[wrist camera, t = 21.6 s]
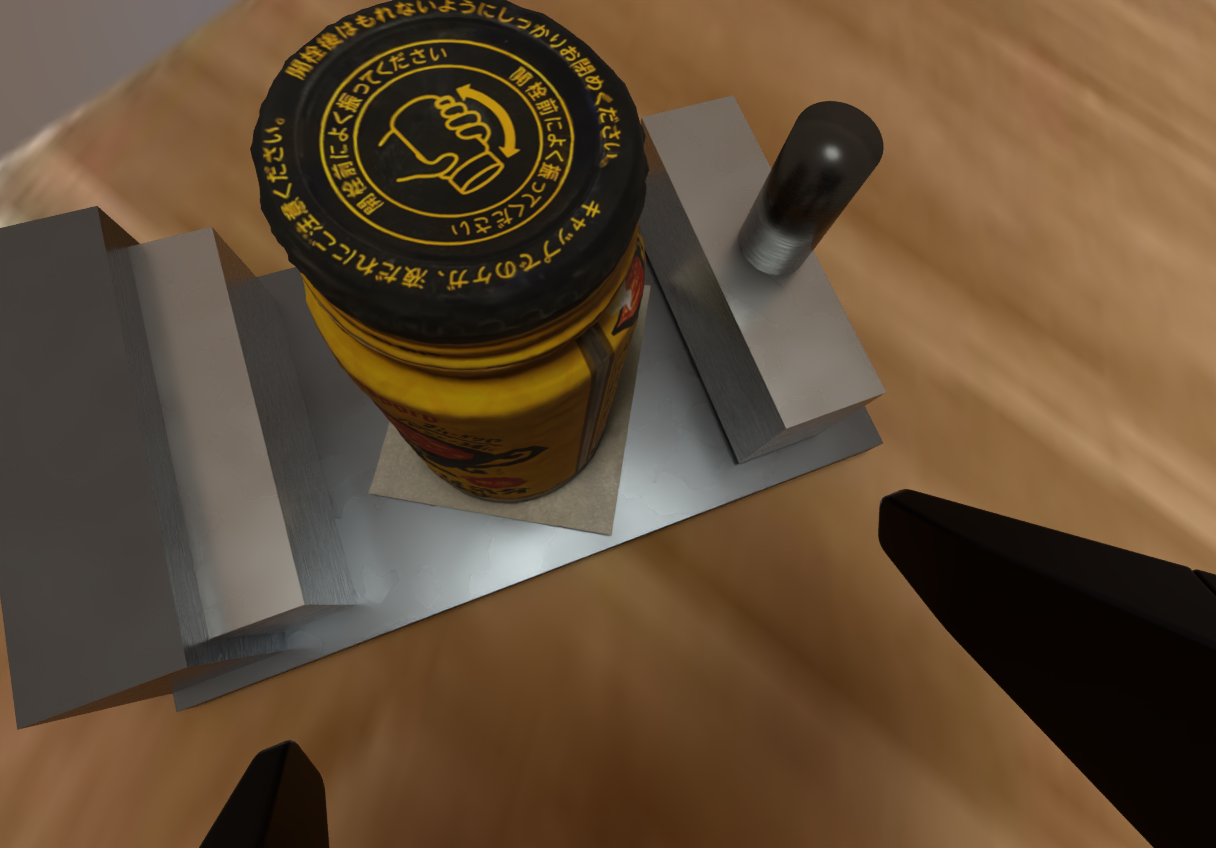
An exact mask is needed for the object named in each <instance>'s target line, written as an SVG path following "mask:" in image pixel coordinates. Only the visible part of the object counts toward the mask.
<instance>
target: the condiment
mask: <svg viewBox="0 0 1216 848" xmlns="http://www.w3.org/2000/svg"><path fill="white" fill-rule="evenodd" d="M644 143H645V131H644V128H643V126H642V125H641V124H640V121H639V117H638V114H637V109H636V106H635V104H634V102H633V100H632V98H631V96H630V93H629V91H628V89H627V87H626V85H625V83H624V82H623V81H622V80H621V79H620V78H619V77H618V76H617V75H616V74H615V72H614V71H613V70H612V69H611V68H610V67H609V66H608V65H607V64H606V63H605V62H604V61H603V60H602V59H601V58H600V57H599V56H598V55H597V54H596V53H595V52H594V51H593V50H592V49H591V48H590V47H589V46H588V45H587V44H586V43H585V42H583V41H582V40H580V39H579V38H577V37H576V36H575V35H574V34H573V33H571V32H570V31H569V30H567V29H566V28H564V27H563V26H561V25H560V24H558V23H557V22H555V21H554V20H553V19H551V18H549V17H548V16H546V15H545V14H543V13H539V12H536V11H532V10H529V9H525V8H522V7H519V6H517V5H515V4H513V3H511V2H509V1H507V0H392V1H390V2H385V3H381V4H377V5H375V6H372V7H369V8H365V9H361V10H360V11H358V12H356V13H354V14H351V15H347V16H345V17H343V18H342V19H340V20H339V21H338V22H336V23H334V24H331V25H328V26H327V27H326V28H325V29H324V30H323V31H321V32H320V33H319V34H318V35H316V36H315V37H314V38H313V39H312V40H311V41H309V42H308V43H307V44H305V45H304V46H303V47H302V48H300V49H299V50H298V51H297V52H296V53H295V54H293V55H292V56H290V57H289V58H288V59H287V60H286V61H285V63H284V66H283V68H282V70H281V71H280V72H279V74H278V75H277V77H276V78H275V79H274V81H273V83H272V86H271V87H270V89H269V92H268V95H267V97H266V99H265V100H264V101H263V103H262V105H261V108H260V116H259V119H258V122H257V124H256V127H255V129H254V133H253V142H252V145H251V148H250V150H251V155H252V158H253V162H254V165H255V168H256V173H257V177H258V181H259V186H260V203H261V210H262V212H263V213H264V215H265V217H266V219H267V221H268V223H269V225H270V227H271V232H272V233H273V235H274V236H275V237H276V239H277V241H278V243H279V244H280V245H282V246H283V247H284V248H285V250H286V252H287V254H288V259H289V262H291V263H292V264H293V265H295V266H296V267H297V269H298V270H299V271H300V273H301V276H302V278H303V282H304V286H305V293H306V302H307V305H308V307H309V309H310V312H311V315H312V317H313V320H314V322H315V324H316V326H317V329H318V331H319V332H320V334H321V336H322V338H323V339H324V340H325V342H326V343H327V345H328V346H329V349H330V351H331V352H332V354H333V355H334V357H335V358H336V360H337V362H338V364H339V366H340V367H341V368H342V369H344V370H345V372H346V373H347V374H348V376H349V377H350V378H351V379H352V381H353V382H354V383H355V384H356V385H357V386H358V387H359V388H360V389H361V391H363V392H364V393H365V394H367V395H368V396H369V397H370V398H371V400H372V401H373V402H374V404H375V405H376V406H377V407H378V408H379V409H380V410H381V411H382V413H383V414H384V415H385V416H386V418H387V419H388V420H389V425H388V429H387V433H386V436H385V440H384V443H383V446H382V449H381V453H380V458H379V461H378V465H377V468H376V471H375V475H374V478H373V481H372V484H371V487H370V489H369V492H368V493H369V494H375V495H380V496H386V497H392V498H398V499H403V500H408V501H414V502H420V503H426V504H431V505H437V506H443V507H448V508H454V509H460V510H465V511H471V512H477V513H483V514H488V515H495V516H501V517H506V518H512V519H518V520H524V521H530V522H536V523H542V524H548V525H553V526H562V527H567V528H573V529H579V530H585V531H590V532H596V533H602V534H607V535H612V530H613V523H614V517H615V510H616V504H617V497H618V491H619V484H620V477H621V471H622V464H623V458H624V451H625V445H626V439H627V433H628V427H629V420H630V414H631V408H632V402H633V395H634V389H635V383H636V377H637V370H638V363H639V357H640V350H641V344H642V339H643V331H644V325H645V319H646V313H647V307H648V300H649V294H650V287H651V286H649V285H645V275H644V274H645V266H646V258H645V245H644V241H643V238H642V236H641V232H640V229H639V218H640V216H641V213H642V211H643V208H644V205H645V197H646V189H647V186H646V182H645V181H646V177H647V175H648V172H649V166H648V162H647V158H646V154H645V153H644Z"/></svg>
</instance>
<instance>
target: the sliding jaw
mask: <svg viewBox="0 0 1216 848" xmlns="http://www.w3.org/2000/svg"><path fill="white" fill-rule="evenodd" d="M640 124H641V125H642V126H643V128H644V131H645V143H644V153H645V154H646V158H647V162H648V166H649V172H648V175H647V177H646V181H645V182H646V186H647V189H646V197H645V205H644V208H643V211H642V213H641V216H640V218H639V229H640V232H641V236H642V238H643V241H644V245H645V251H646V253H647V255H648V257H649V260H650V262H651V264H652V267H653V269H654V271H655V273H656V276H657V278H658V280H659V282H660V285H661V287H662V289H663V292H664V294H665V296H666V298H667V301H668V303H669V305H670V308H671V310H672V312H673V314H674V317H675V319H676V321H677V323H678V326H679V328H680V330H681V333H682V335H683V337H684V339H685V342H686V344H687V346H688V349H689V351H690V353H691V355H692V358H693V360H694V362H695V364H696V367H697V369H698V371H699V374H700V376H701V378H702V380H703V383H704V385H705V387H706V390H707V392H708V394H709V396H710V399H711V401H712V403H713V406H714V408H715V410H716V412H717V415H718V417H719V419H720V421H721V424H722V426H723V428H724V431H725V433H726V435H727V437H728V440H729V442H730V444H731V447H732V449H733V451H734V453H735V456H736V458H737V460H738V462H739V463H741V462H744V461H747V460H749V459H752V458H755V457H758V456H760V455H763V454H766V453H768V452H771V451H774V450H777V449H779V448H782V447H785V446H787V445H790V444H793V443H796V442H798V441H801V440H804V439H806V438H809V437H812V436H815V435H817V434H820V433H822V432H824V431H825V430H827V429H828V428H830V427H832V426H833V425H835V424H836V423H838V422H840V421H841V420H843V419H844V418H846V417H848V416H849V415H851V414H852V413H854V412H856V411H857V410H859V409H860V408H862V407H864V406H865V405H867V404H868V403H870V402H872V401H873V400H875V399H876V398H878V397H880V396H881V395H883V394H884V393H886V391H885V389H884V387H883V385H882V383H881V381H880V379H879V377H878V375H877V374H876V372H875V370H874V368H873V366H872V364H871V362H870V360H869V358H868V356H867V354H866V352H865V350H864V348H863V346H862V344H861V342H860V340H859V339H858V337H857V335H856V333H855V331H854V329H853V327H852V325H851V323H850V321H849V319H848V317H847V315H846V313H845V311H844V309H843V307H842V305H841V304H840V302H839V300H838V298H837V296H836V294H835V292H834V290H833V288H832V286H831V284H830V282H829V280H828V278H827V276H826V274H825V272H824V271H823V269H822V267H821V265H820V263H819V261H818V259H817V257H816V255H815V253H814V251H813V250H814V248H815V247H816V246H817V244H818V243H819V242H820V240H821V239H822V238H823V236H824V235H825V234H826V232H827V231H828V230H829V228H830V227H831V226H832V225H833V223H834V222H835V221H836V219H837V218H838V217H839V215H840V214H841V213H842V211H843V210H844V209H845V207H846V206H847V205H848V203H849V202H850V201H851V199H852V198H853V197H854V195H855V194H856V193H857V191H858V190H859V189H860V187H861V186H862V185H863V183H864V182H865V181H866V179H867V178H868V177H869V175H870V174H871V173H872V171H873V170H874V169H875V167H876V166H877V165H878V163H879V162H880V160H881V158H882V154H883V139H882V136H881V133H880V131H879V129H878V127H877V126H876V124H875V123H874V122H873V121H872V119H871V118H870V117H869V116H867V115H866V114H865V113H864V112H862V111H861V110H859V109H858V108H855V107H853V106H851V105H849V104H845V103H842V102H836V101H825V102H819V103H816V104H813V105H811V106H809V107H808V108H806V109H805V110H804V111H803V112H802V113H801V114H800V115H799V117H798V119H797V120H796V122H795V124H794V126H793V128H792V130H791V132H790V134H789V136H788V138H787V140H786V142H785V144H784V146H783V147H782V149H781V151H780V153H779V155H778V157H777V159H776V161H775V163H774V165H773V167H772V169H771V168H770V166H769V164H768V162H767V160H766V158H765V156H764V154H763V152H762V150H761V148H760V146H759V144H758V142H757V140H756V138H755V136H754V134H753V133H752V131H751V129H750V127H749V125H748V123H747V121H746V119H745V117H744V115H743V113H742V111H741V109H740V107H739V105H738V103H737V101H736V99H735V98H734V96H733V95H732V96H728V97H724V98H720V99H716V100H712V101H708V102H703V103H699V104H695V105H691V106H687V107H683V108H679V109H674V110H670V111H666V112H662V113H658V114H654V115H650V116H645V117H642V118H641V123H640Z"/></svg>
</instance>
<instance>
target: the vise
mask: <svg viewBox="0 0 1216 848" xmlns="http://www.w3.org/2000/svg"><path fill="white" fill-rule="evenodd" d="M645 258H646V266H645V274H644V275H645V285H649V286H651V287H650V294H649V300H648V307H647V313H646V319H645V325H644V331H643V339H642V344H641V350H640V357H639V363H638V370H637V377H636V383H635V389H634V395H633V402H632V408H631V414H630V420H629V427H628V433H627V439H626V445H625V451H624V458H623V464H622V471H621V477H620V484H619V491H618V497H617V504H616V510H615V517H614V523H613V530H612V535H607V534H602V533H596V532H590V531H585V530H579V529H573V528H567V527H562V526H553V525H548V524H542V523H536V522H530V521H524V520H518V519H512V518H506V517H501V516H495V515H488V514H483V513H477V512H471V511H465V510H460V509H454V508H448V507H443V506H437V505H431V504H426V503H420V502H414V501H408V500H403V499H398V498H392V497H386V496H380V495H375V494H369V493H368V492H369V489H370V487H371V484H372V481H373V478H374V475H375V471H376V468H377V465H378V461H379V458H380V453H381V449H382V446H383V443H384V440H385V436H386V433H387V429H388V425H389V420H388V419H387V418H386V416H385V415H384V414H383V413H382V411H381V410H380V409H379V408H378V407H377V406H376V405H375V404H374V402H373V401H372V400H371V398H370V397H369V396H368V395H367V394H365V393H364V392H363V391H361V389H360V388H359V387H358V386H357V385H356V384H355V383H354V382H353V381H352V379H351V378H350V377H349V376H348V374H347V373H346V372H345V370H344V369H342V368H341V367H340V366H339V364H338V362H337V360H336V358H335V357H334V355H333V354H332V352H331V351H330V349H329V346H328V345H327V343H326V342H325V340H324V339H323V338H322V336H321V334H320V332H319V331H318V329H317V326H316V324H315V322H314V320H313V317H312V315H311V312H310V309H309V307H308V305H307V302H306V293H305V286H304V282H303V278H302V276H301V273H300V271H299V270H298V269H297V267H294V268H291V269H287V270H283V271H279V272H275V273H271V274H268V275H264V276H260V277H256V276H255V275H254V274H253V273H252V272H251V271H250V269H249V268H248V267H247V266H246V265H245V264H244V263H243V262H242V260H241V259H240V258H239V257H238V256H237V255H236V254H235V253H234V251H233V250H232V249H231V248H230V247H229V246H228V245H227V243H226V242H225V241H224V240H223V239H222V238H221V237H220V236H219V234H218V233H217V232H216V231H215V230H214V229H213V228H212V227H209V228H204V229H200V230H196V231H192V232H188V233H184V234H180V235H176V236H172V237H167V238H163V239H159V240H155V241H151V242H147V243H143V244H139V243H138V242H137V241H136V240H135V239H134V238H133V237H132V236H130V235H129V234H128V233H127V232H126V231H125V230H124V229H123V228H121V227H120V226H119V225H118V224H117V223H116V222H115V221H114V220H112V219H111V218H110V217H109V216H108V215H107V214H106V213H105V212H103V211H102V210H101V209H100V208H99V207H98V206H95V207H90V208H86V209H82V210H77V211H73V212H69V213H64V214H60V215H56V216H51V217H47V218H42V219H38V220H34V221H29V222H25V223H21V224H16V225H12V226H8V227H3V228H0V597H1V605H2V613H3V621H4V628H5V636H6V644H7V652H8V660H9V668H10V675H11V683H12V691H13V699H14V707H15V715H16V722H17V730H18V729H22V728H27V727H31V726H35V725H39V724H44V723H48V722H52V721H56V720H60V719H65V718H69V717H73V716H77V715H82V714H86V713H90V712H94V711H99V710H103V709H107V708H111V707H116V706H120V705H124V704H128V703H132V702H137V701H141V700H145V699H149V698H154V697H158V696H162V695H166V694H171V693H173V696H174V701H175V706H176V712H179V711H182V710H185V709H189V708H192V707H196V706H199V705H201V704H204V703H207V702H209V701H212V700H215V699H217V698H220V697H222V696H225V695H228V694H230V693H233V692H236V691H238V690H241V689H243V688H246V687H249V686H251V685H254V684H257V683H259V682H262V681H264V680H267V679H270V678H272V677H275V676H278V675H280V674H283V673H285V672H288V671H291V670H293V669H296V668H299V667H301V666H304V665H306V664H309V663H312V662H314V661H317V660H320V659H322V658H325V657H327V656H330V655H333V654H335V653H338V652H340V651H343V650H346V649H348V648H351V647H354V646H356V645H359V644H361V643H364V642H367V641H369V640H372V639H375V638H377V637H380V636H382V635H385V634H388V633H390V632H393V631H396V630H398V629H401V628H403V627H406V626H409V625H411V624H414V623H417V622H419V621H422V620H424V619H427V618H430V617H432V616H435V615H438V614H440V613H443V612H445V611H448V610H451V609H453V608H456V607H459V606H461V605H464V604H466V603H469V602H472V601H474V600H477V599H480V598H482V597H485V596H487V595H490V594H493V593H495V592H498V591H501V590H503V589H506V588H508V587H511V586H514V585H516V584H519V583H522V582H524V581H527V580H529V579H532V578H535V577H537V576H540V575H543V574H545V573H548V572H550V571H553V570H556V569H558V568H561V567H564V566H566V565H569V564H571V563H574V562H577V561H579V560H582V559H585V558H587V557H590V556H592V555H595V554H598V553H600V552H603V551H606V550H608V549H611V548H613V547H616V546H619V545H621V544H624V543H627V542H629V541H632V540H634V539H637V538H640V537H642V536H645V535H648V534H650V533H653V532H655V531H658V530H661V529H663V528H666V527H669V526H671V525H674V524H676V523H679V522H682V521H684V520H687V519H690V518H692V517H695V516H697V515H700V514H703V513H705V512H708V511H711V510H713V509H716V508H718V507H721V506H724V505H726V504H729V503H732V502H734V501H737V500H739V499H742V498H745V497H747V496H750V495H753V494H755V493H758V492H760V491H763V490H766V489H768V488H771V487H774V486H776V485H779V484H781V483H784V482H787V481H789V480H792V479H795V478H797V477H800V476H802V475H805V474H808V473H810V472H813V471H816V470H818V469H821V468H823V467H826V466H829V465H831V464H834V463H837V462H839V461H842V460H844V459H847V458H850V457H852V456H855V455H858V454H860V453H863V452H865V451H868V450H870V449H872V448H874V447H876V446H878V445H881V444H883V442H882V440H881V438H880V436H879V434H878V432H877V430H876V428H875V426H874V424H873V422H872V420H871V418H870V416H869V414H868V412H867V410H866V408H865V406H864V407H862V408H860V409H859V410H857V411H856V412H854V413H852V414H851V415H849V416H848V417H846V418H844V419H843V420H841V421H840V422H838V423H836V424H835V425H833V426H832V427H830V428H828V429H827V430H825V431H824V432H822V433H820V434H817V435H815V436H812V437H809V438H806V439H804V440H801V441H798V442H796V443H793V444H790V445H787V446H785V447H782V448H779V449H777V450H774V451H771V452H768V453H766V454H763V455H760V456H758V457H755V458H752V459H749V460H747V461H744V462H741V463H739V462H738V460H737V458H736V456H735V453H734V451H733V449H732V447H731V444H730V442H729V440H728V437H727V435H726V433H725V431H724V428H723V426H722V424H721V421H720V419H719V417H718V415H717V412H716V410H715V408H714V406H713V403H712V401H711V399H710V396H709V394H708V392H707V390H706V387H705V385H704V383H703V380H702V378H701V376H700V374H699V371H698V369H697V367H696V364H695V362H694V360H693V358H692V355H691V353H690V351H689V349H688V346H687V344H686V342H685V339H684V337H683V335H682V333H681V330H680V328H679V326H678V323H677V321H676V319H675V317H674V314H673V312H672V310H671V308H670V305H669V303H668V301H667V298H666V296H665V294H664V292H663V289H662V287H661V285H660V282H659V280H658V278H657V276H656V273H655V271H654V269H653V267H652V264H651V262H650V260H649V257H648V255H647V253H646V251H645Z"/></svg>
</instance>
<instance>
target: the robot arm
mask: <svg viewBox="0 0 1216 848" xmlns="http://www.w3.org/2000/svg"><path fill="white" fill-rule="evenodd" d="M878 538H879V542H880V545H881V547H882V549H883V550H884V552H885V553H886V554H887V556H888V557H889V558H890V559H891V561H892V562H893V563H894V565H895V566H896V567H897V568H898V570H899V571H900V572H901V573H902V575H903V576H904V577H905V579H906V580H907V581H908V582H909V584H910V585H911V586H912V588H913V589H914V590H915V591H916V593H917V594H918V595H919V596H920V598H921V599H922V600H923V602H924V603H925V604H926V605H927V607H928V608H929V609H930V610H931V612H932V613H933V614H934V616H935V617H936V618H937V619H938V620H939V622H940V623H941V624H942V625H943V626H944V628H945V629H946V630H947V631H948V632H949V633H950V634H951V635H952V636H953V638H954V639H955V640H956V641H957V642H958V643H959V644H960V645H961V646H962V647H963V648H964V649H965V650H966V651H967V652H968V653H969V655H970V656H971V657H972V658H973V659H974V660H975V661H976V662H977V663H978V664H979V665H980V666H981V667H982V668H983V669H984V670H985V671H986V672H987V673H988V674H989V675H990V677H991V678H992V679H993V680H994V681H995V682H996V683H997V684H998V685H999V686H1000V687H1001V688H1002V689H1003V690H1004V691H1005V692H1006V693H1007V694H1008V695H1009V696H1010V698H1011V699H1012V700H1013V701H1014V702H1015V703H1016V704H1017V705H1018V706H1019V707H1020V708H1021V709H1022V710H1023V711H1024V712H1025V713H1026V714H1027V715H1028V716H1029V717H1030V719H1031V720H1032V721H1033V722H1034V723H1035V724H1036V725H1037V726H1038V727H1039V728H1040V729H1041V730H1042V731H1043V732H1044V733H1045V734H1046V735H1047V736H1048V737H1049V738H1050V740H1051V741H1052V742H1053V743H1054V744H1055V745H1056V746H1057V747H1058V748H1059V749H1060V750H1061V751H1062V752H1063V753H1064V754H1065V755H1066V756H1067V757H1068V758H1069V759H1070V760H1071V762H1072V763H1073V764H1074V765H1075V766H1076V767H1077V768H1078V769H1079V770H1080V771H1081V772H1082V773H1083V774H1084V775H1085V776H1086V777H1087V778H1088V779H1089V780H1090V781H1091V783H1092V784H1093V785H1094V786H1095V787H1096V788H1097V789H1098V790H1099V791H1100V792H1101V793H1102V794H1103V795H1104V796H1105V797H1106V798H1107V799H1108V800H1109V801H1110V802H1111V804H1112V805H1113V806H1114V807H1115V808H1116V809H1117V810H1118V811H1119V812H1120V813H1121V814H1122V815H1123V816H1124V817H1125V818H1126V819H1127V820H1128V821H1129V822H1130V823H1131V824H1132V826H1133V827H1134V828H1135V829H1136V830H1137V831H1138V832H1139V833H1140V834H1141V835H1142V836H1143V837H1144V838H1145V839H1146V840H1147V841H1148V842H1149V843H1150V844H1151V845H1152V847H1153V848H1216V575H1215V574H1212V573H1208V572H1205V571H1201V570H1197V569H1196V570H1193V571H1192V570H1191V569H1190V568H1189V567H1186V566H1183V565H1179V564H1175V563H1172V562H1168V561H1165V560H1161V559H1158V558H1154V557H1150V556H1147V555H1143V554H1140V553H1136V552H1132V551H1129V550H1125V549H1122V548H1118V547H1115V546H1111V545H1107V544H1104V543H1100V542H1097V541H1093V540H1089V539H1086V538H1082V537H1079V536H1075V535H1071V534H1068V533H1064V532H1061V531H1057V530H1054V529H1050V528H1046V527H1043V526H1039V525H1036V524H1032V523H1028V522H1025V521H1021V520H1018V519H1014V518H1010V517H1007V516H1003V515H1000V514H996V513H993V512H989V511H985V510H982V509H978V508H975V507H971V506H967V505H964V504H960V503H957V502H953V501H950V500H946V499H942V498H939V497H935V496H932V495H928V494H924V493H921V492H917V491H914V490H909V489H903V490H899V491H897V492H895V493H892V494H890V495H887V496H885V497H883V498H882V500H881V502H880V508H879V528H878ZM199 848H329V837H328V824H327V811H326V798H325V788H324V783H323V780H322V777H321V775H320V773H319V771H318V770H317V769H316V767H315V766H314V765H313V763H312V762H311V761H310V759H309V758H308V757H307V756H306V754H305V753H304V752H303V750H302V749H301V748H300V746H299V745H298V744H297V743H296V742H294V741H292V740H288V741H284V742H282V743H279V744H277V745H274V746H272V747H270V748H267V749H265V750H262V751H261V752H259V753H258V754H257V755H256V756H255V757H254V759H253V760H252V762H251V763H250V765H249V767H248V768H247V770H246V772H245V773H244V775H243V776H242V778H241V780H240V781H239V783H238V785H237V786H236V788H235V790H234V791H233V793H232V794H231V796H230V798H229V799H228V801H227V803H226V804H225V806H224V808H223V809H222V811H221V812H220V814H219V816H218V817H217V819H216V821H215V822H214V824H213V826H212V827H211V829H210V830H209V832H208V834H207V835H206V837H205V839H204V840H203V842H202V844H201V845H200V847H199Z"/></svg>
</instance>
